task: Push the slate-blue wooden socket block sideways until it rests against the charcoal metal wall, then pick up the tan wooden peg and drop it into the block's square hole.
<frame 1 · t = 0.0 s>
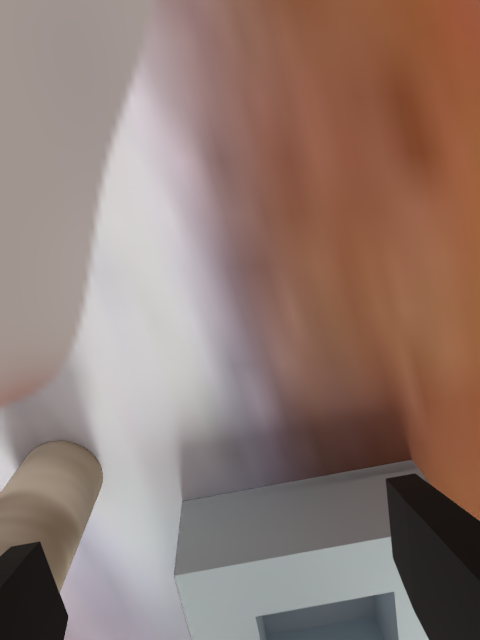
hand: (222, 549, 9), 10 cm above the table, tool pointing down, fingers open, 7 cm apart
socket block: (310, 566, 22), on the table
tan wooden peg: (62, 475, 20), on the table
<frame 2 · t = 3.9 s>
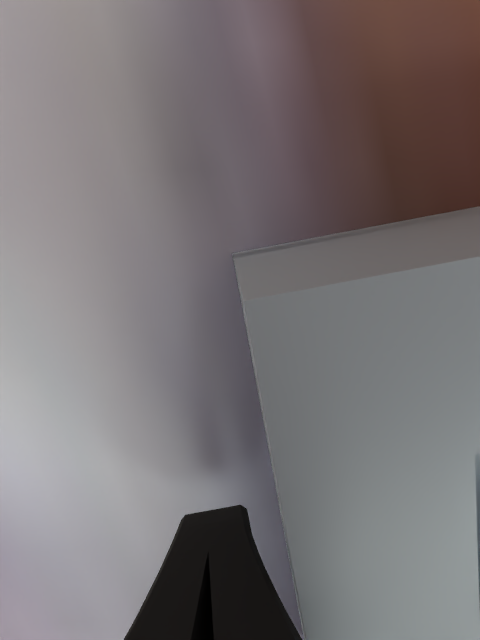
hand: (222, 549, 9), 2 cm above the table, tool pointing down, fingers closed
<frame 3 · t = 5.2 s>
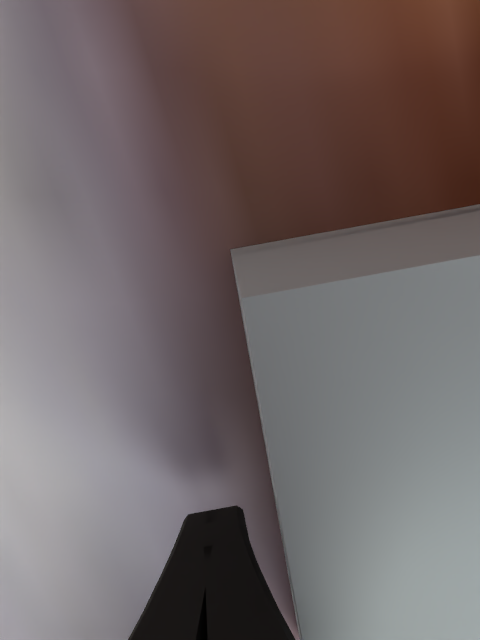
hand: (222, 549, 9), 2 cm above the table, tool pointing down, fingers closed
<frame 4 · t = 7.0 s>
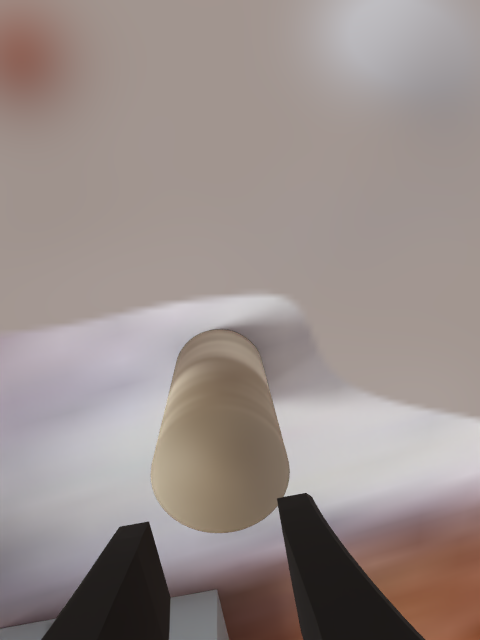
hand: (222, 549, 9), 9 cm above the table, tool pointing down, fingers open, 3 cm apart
tan wooden peg: (219, 370, 18), on the table
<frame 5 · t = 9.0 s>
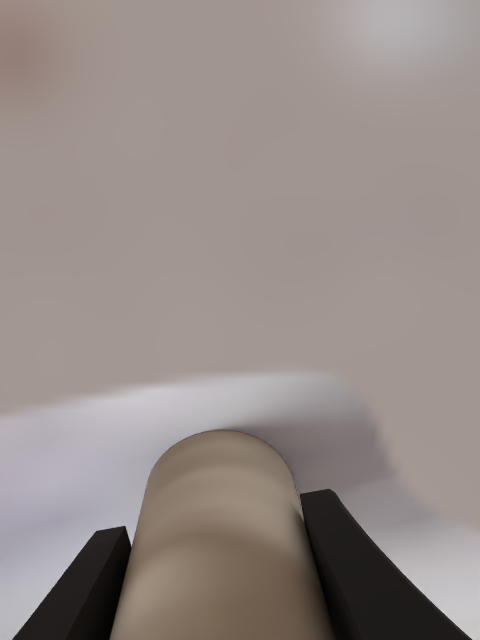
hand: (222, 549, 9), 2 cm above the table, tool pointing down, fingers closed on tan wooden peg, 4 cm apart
tan wooden peg: (220, 496, 11), on the table, touching gripper
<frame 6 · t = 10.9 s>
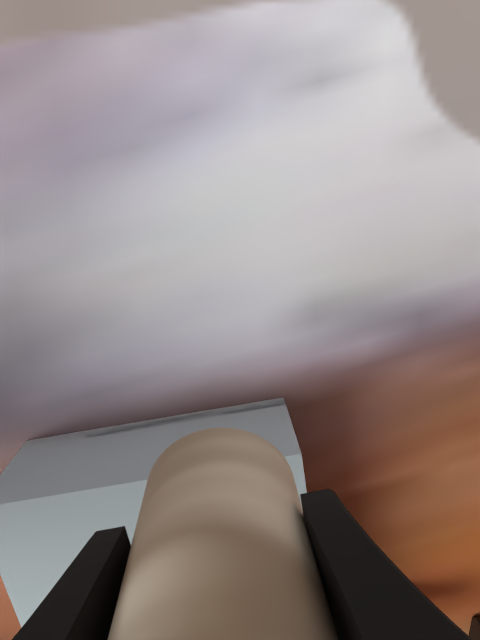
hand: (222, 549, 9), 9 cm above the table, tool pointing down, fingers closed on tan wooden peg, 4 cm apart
socket block: (181, 519, 20), on the table
tan wooden peg: (221, 494, 11), point 8 cm above the table, touching gripper
when the fingers open (5 cm above the table, at t = 12.9 s): tan wooden peg drops 2 cm, resting on socket block.
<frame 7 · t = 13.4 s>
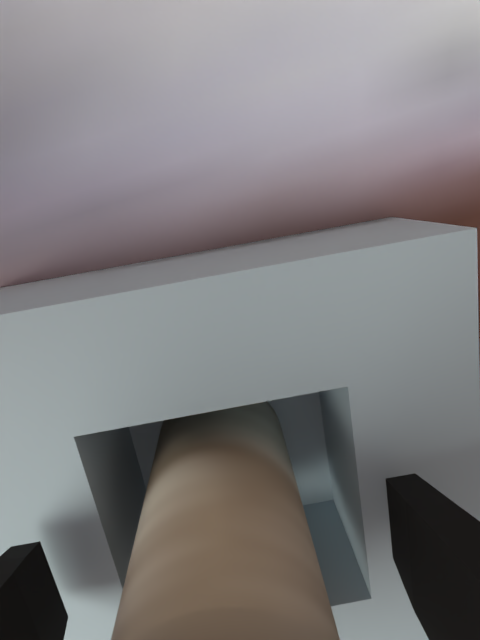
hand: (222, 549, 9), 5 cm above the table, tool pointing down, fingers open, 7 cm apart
socket block: (228, 421, 14), on the table, touching tan wooden peg
tan wooden peg: (221, 439, 13), point 1 cm above the table, touching socket block
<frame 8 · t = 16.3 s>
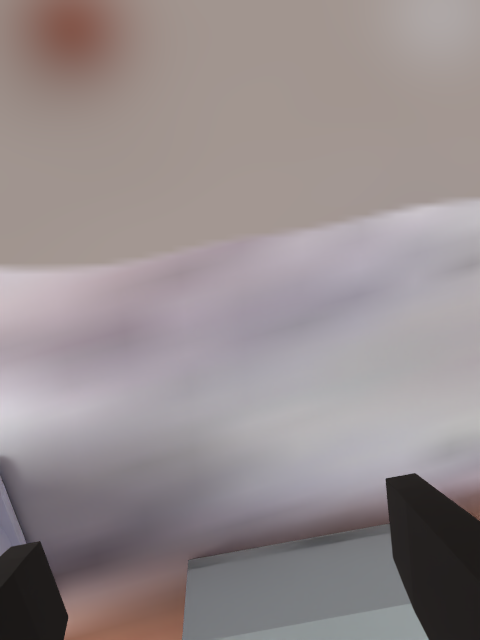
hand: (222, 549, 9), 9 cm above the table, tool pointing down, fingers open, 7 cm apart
socket block: (314, 617, 23), on the table, touching tan wooden peg
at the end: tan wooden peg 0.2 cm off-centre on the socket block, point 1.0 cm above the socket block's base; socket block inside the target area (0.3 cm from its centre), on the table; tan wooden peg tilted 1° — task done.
